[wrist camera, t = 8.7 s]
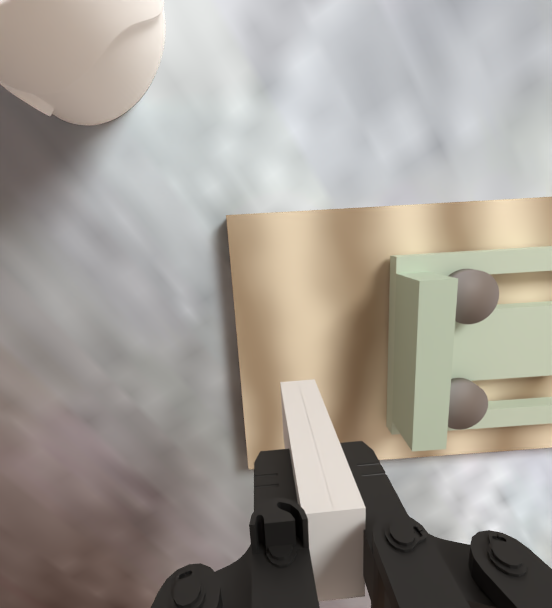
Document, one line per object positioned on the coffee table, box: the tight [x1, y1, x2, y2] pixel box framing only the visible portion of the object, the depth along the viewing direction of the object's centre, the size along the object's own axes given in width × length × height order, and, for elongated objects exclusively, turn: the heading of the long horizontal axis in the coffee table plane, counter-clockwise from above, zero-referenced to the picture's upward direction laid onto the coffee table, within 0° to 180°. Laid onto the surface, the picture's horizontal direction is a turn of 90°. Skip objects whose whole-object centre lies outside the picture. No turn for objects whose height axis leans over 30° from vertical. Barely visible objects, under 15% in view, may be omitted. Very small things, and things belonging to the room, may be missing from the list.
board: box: [226, 197, 552, 469], centre depth 21 cm, size 28×18×4 cm, turn 93°
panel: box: [386, 246, 552, 452], centre depth 20 cm, size 17×12×4 cm
